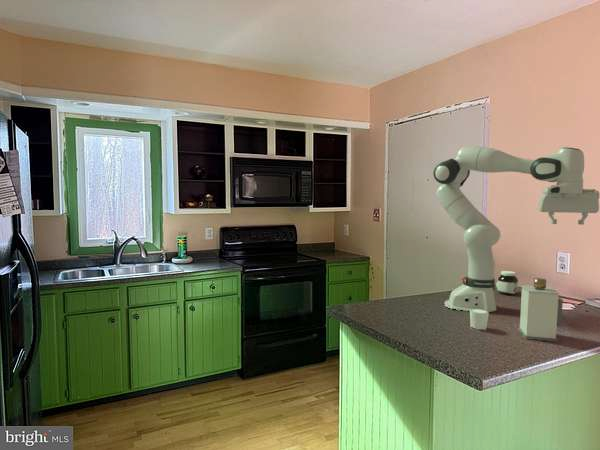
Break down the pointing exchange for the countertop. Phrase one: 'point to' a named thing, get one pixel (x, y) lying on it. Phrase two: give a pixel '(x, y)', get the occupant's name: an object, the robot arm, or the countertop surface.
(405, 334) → the countertop surface
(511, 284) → the spread jar
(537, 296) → the block
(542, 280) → the plunger
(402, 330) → the countertop surface
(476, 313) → the shot glass
